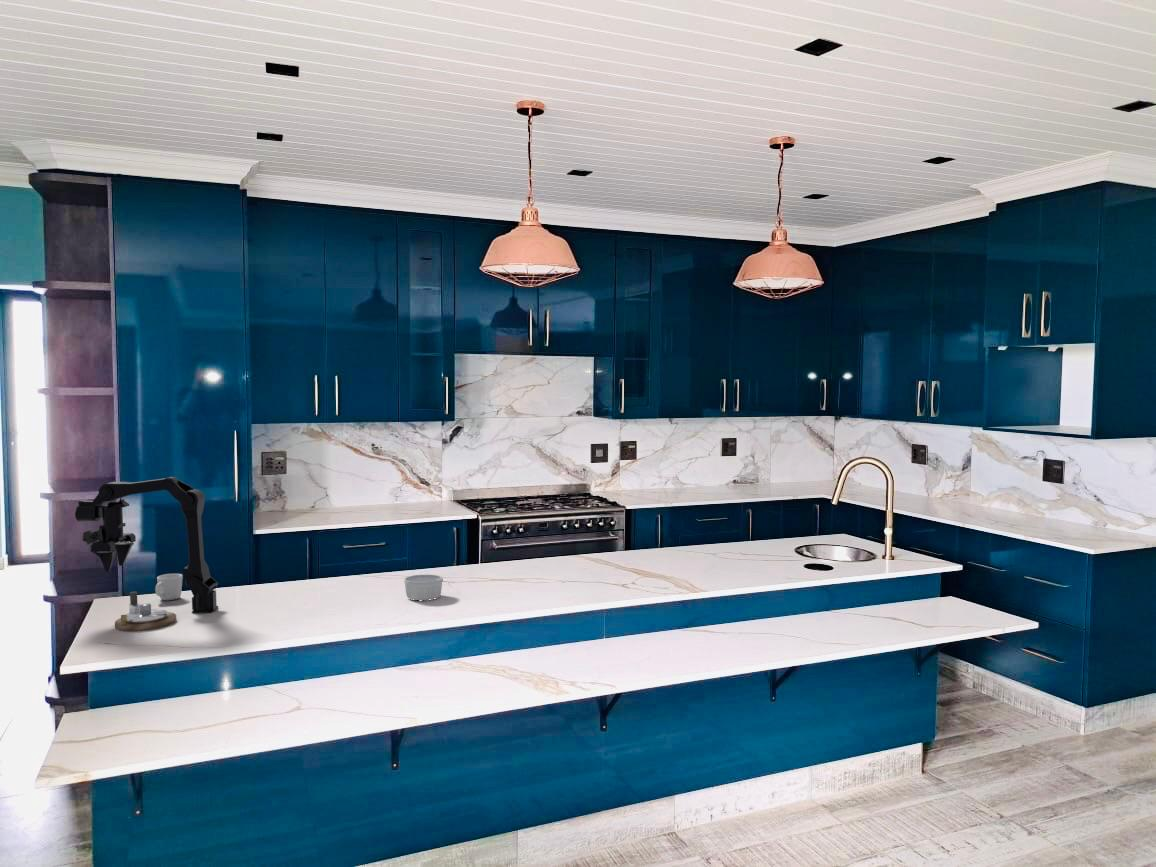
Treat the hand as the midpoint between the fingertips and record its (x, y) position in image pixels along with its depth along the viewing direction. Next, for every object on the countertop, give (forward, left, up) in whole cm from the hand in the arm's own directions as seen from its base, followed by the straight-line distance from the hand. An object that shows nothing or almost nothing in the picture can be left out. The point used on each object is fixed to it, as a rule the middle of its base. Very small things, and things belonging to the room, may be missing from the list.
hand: (114, 568), depth 273 cm
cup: (-10, -16, -15) cm, 24 cm away
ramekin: (-98, -10, -15) cm, 100 cm away
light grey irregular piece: (-14, +13, -13) cm, 23 cm away
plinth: (-15, +14, -14) cm, 25 cm away
